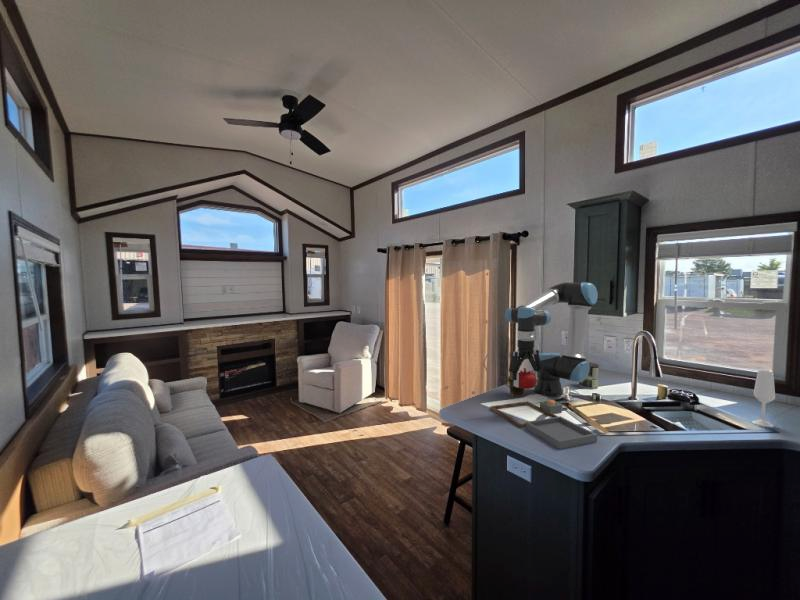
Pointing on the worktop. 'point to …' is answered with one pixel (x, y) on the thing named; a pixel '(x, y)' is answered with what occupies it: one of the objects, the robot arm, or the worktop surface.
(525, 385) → the pomegranate
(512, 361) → the robot arm
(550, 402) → the button
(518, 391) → the ceramic cup
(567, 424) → the tray
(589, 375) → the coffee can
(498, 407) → the wooden flat square frame
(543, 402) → the button housing
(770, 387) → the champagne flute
